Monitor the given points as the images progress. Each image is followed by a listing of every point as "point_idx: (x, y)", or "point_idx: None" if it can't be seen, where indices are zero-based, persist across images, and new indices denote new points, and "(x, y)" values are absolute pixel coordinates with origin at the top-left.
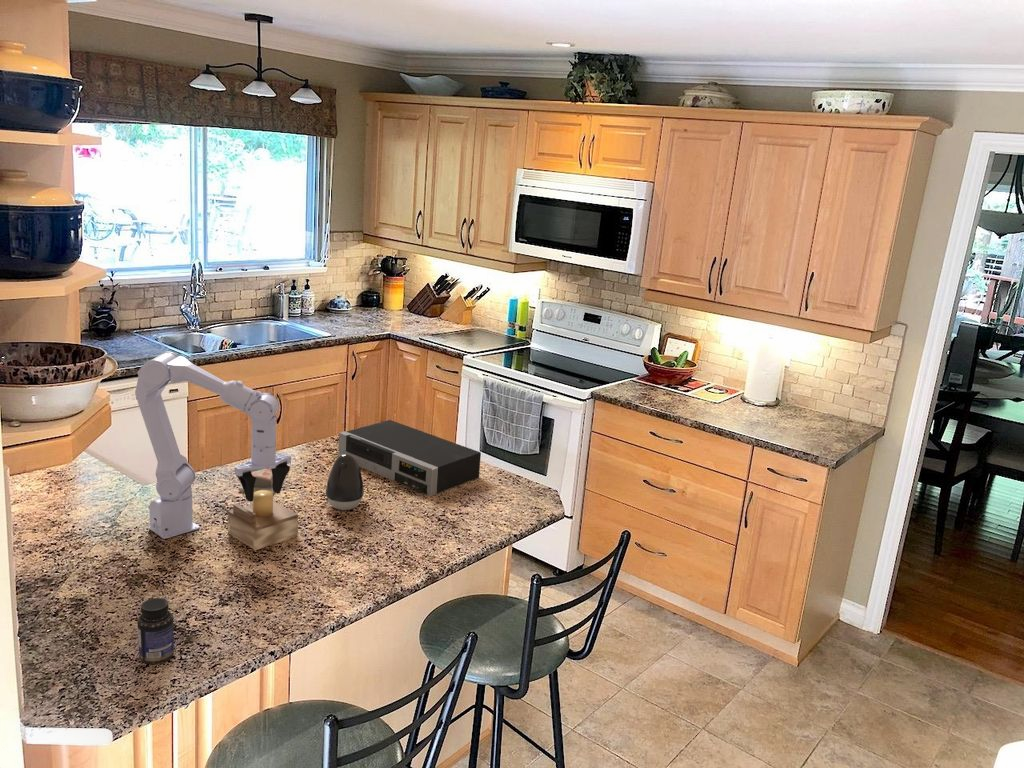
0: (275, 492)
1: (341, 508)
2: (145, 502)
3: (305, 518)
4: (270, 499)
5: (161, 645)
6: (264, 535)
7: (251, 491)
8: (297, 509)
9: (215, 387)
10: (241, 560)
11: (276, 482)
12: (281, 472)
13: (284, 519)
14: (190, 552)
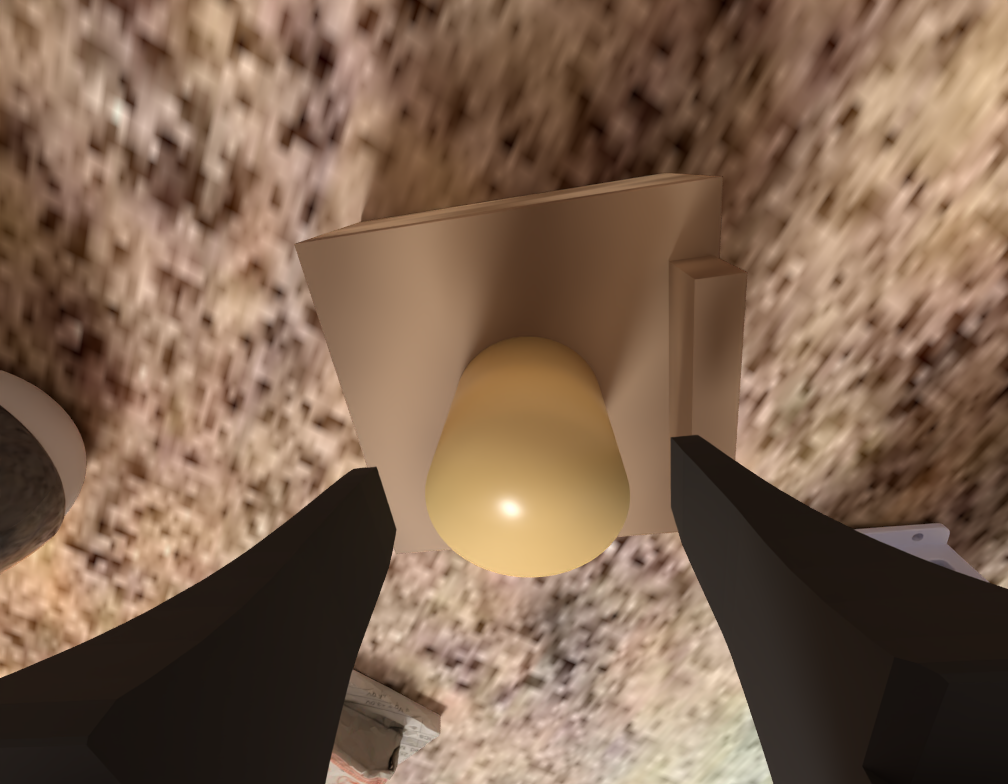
0: (386, 500)
1: (27, 383)
2: (766, 774)
3: (254, 401)
4: (487, 402)
5: None
6: (611, 186)
7: (763, 492)
8: (266, 501)
9: None
10: (818, 75)
11: (340, 581)
12: (186, 677)
13: (426, 222)
14: (955, 345)
